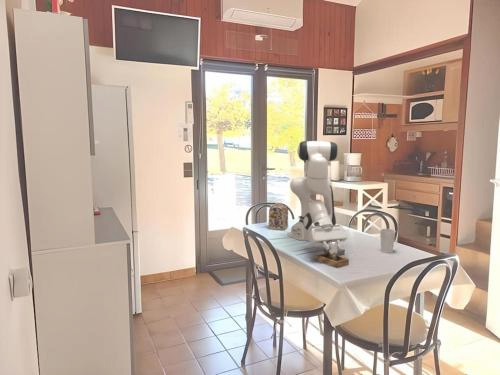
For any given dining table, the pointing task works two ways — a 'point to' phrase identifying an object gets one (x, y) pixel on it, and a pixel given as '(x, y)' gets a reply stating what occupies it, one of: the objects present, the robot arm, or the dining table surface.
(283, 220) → the decorative jar
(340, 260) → the brown wooden shallow tray
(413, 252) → the dining table surface
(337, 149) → the robot arm
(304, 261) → the dining table surface
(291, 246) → the dining table surface
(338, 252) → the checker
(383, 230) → the cup
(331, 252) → the steel cell
